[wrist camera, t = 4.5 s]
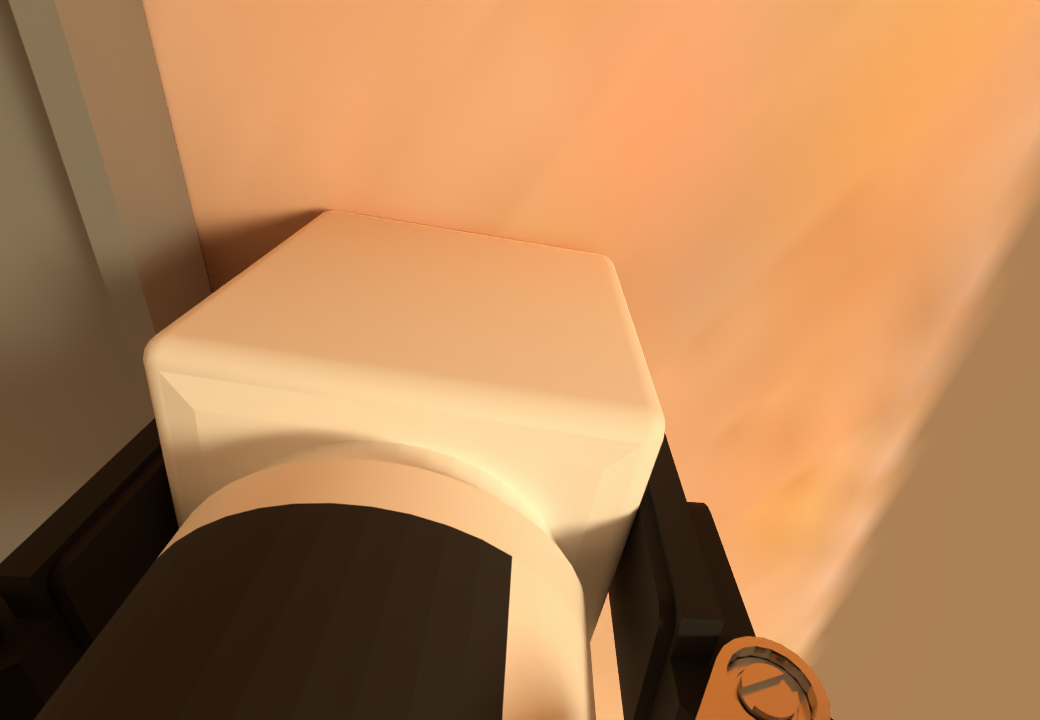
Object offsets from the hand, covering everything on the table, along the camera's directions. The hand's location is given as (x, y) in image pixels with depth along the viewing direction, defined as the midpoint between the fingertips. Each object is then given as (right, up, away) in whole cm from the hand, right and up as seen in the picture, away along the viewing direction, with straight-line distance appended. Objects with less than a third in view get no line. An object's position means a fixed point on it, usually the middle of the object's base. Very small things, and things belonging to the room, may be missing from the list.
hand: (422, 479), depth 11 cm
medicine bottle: (0, +3, +5) cm, 5 cm away
